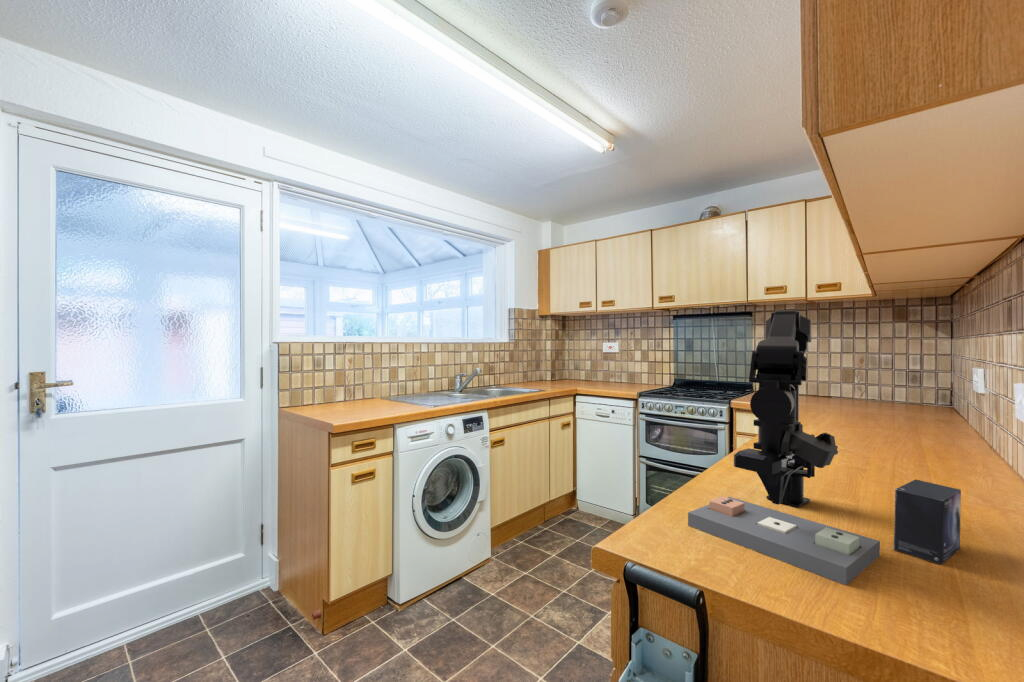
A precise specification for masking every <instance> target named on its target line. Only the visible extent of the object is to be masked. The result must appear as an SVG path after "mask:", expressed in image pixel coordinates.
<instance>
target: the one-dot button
mask: <svg viewBox="0 0 1024 682" xmlns="http://www.w3.org/2000/svg"><path fill="white" fill-rule="evenodd" d="M757 525H759V526H762V527H765V528H768V529H771V530H774V531H777V532H780V533H783V534H788V533H789V532H791V531H793V530H795V529H796V525H794V524H791V523H788V522H784V521H781V520H778V519H775V518H771V517H768V518H766V519H764V520H762V521H760V522H758V523H757Z"/></svg>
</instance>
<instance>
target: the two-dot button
mask: <svg viewBox="0 0 1024 682" xmlns="http://www.w3.org/2000/svg"><path fill="white" fill-rule="evenodd" d="M815 544H817V545H820V546H823V547H826V548H829V549H832V550H835V551H838V552H841V553H844V554H847V555H850V556H851V555H852V554H853V553H855V552H856V551H857V550H859V537H857V536H854V535H851V534H847V533H844V532H841V531H837V530H834V529H830V528H827V527H826V528H824V529H823V530H821V531H819V532H818V533H816V534H815Z"/></svg>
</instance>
